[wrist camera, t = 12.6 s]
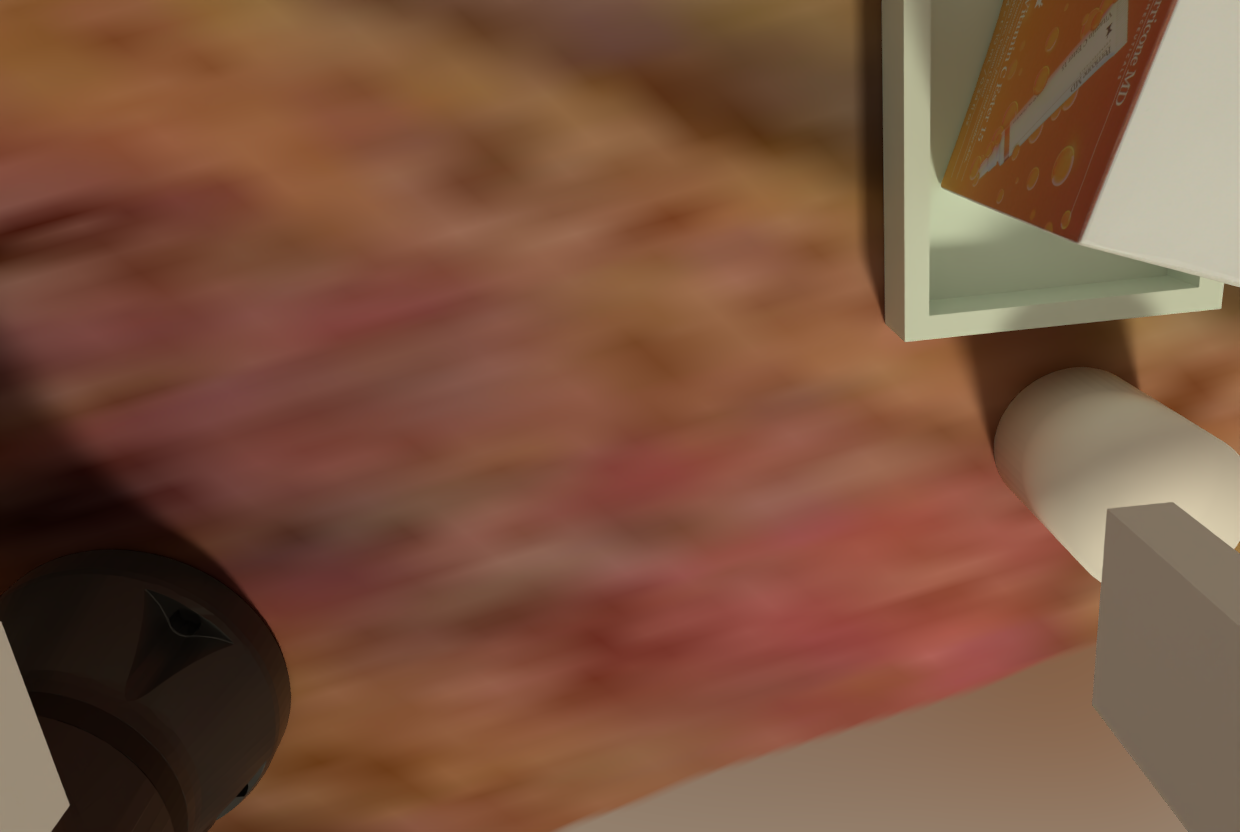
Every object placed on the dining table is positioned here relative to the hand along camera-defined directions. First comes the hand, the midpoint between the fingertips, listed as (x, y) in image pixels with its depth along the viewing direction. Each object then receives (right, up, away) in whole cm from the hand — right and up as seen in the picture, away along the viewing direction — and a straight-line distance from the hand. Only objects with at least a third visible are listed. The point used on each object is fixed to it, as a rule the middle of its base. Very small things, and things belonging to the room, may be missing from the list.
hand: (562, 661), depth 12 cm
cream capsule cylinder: (+22, +2, +34) cm, 40 cm away
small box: (+18, +15, +28) cm, 37 cm away
